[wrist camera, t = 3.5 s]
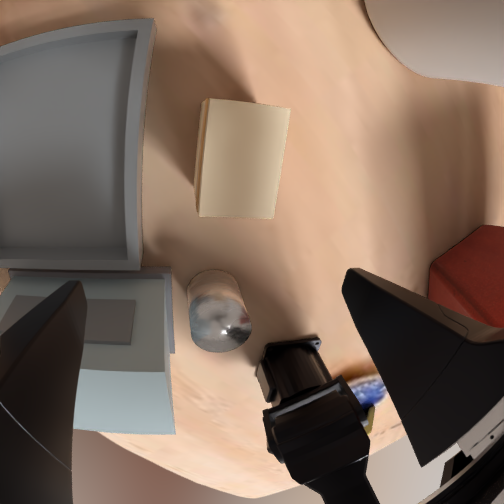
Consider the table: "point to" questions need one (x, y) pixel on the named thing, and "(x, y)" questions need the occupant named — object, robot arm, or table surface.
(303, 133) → the table surface
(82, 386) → the box
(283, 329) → the table surface
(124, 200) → the parts tray
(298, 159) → the table surface
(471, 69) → the cylinder vase
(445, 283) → the plant pot
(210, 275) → the chrome-capped short cylinder
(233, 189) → the block
